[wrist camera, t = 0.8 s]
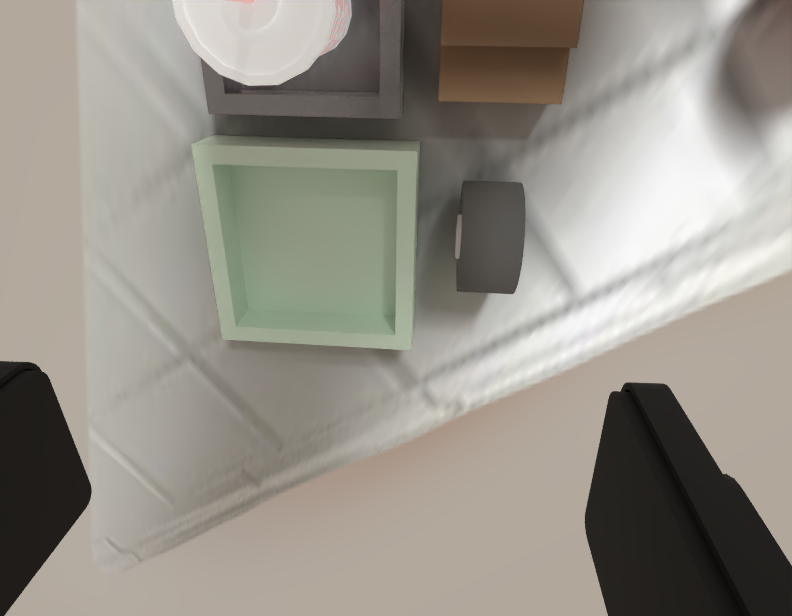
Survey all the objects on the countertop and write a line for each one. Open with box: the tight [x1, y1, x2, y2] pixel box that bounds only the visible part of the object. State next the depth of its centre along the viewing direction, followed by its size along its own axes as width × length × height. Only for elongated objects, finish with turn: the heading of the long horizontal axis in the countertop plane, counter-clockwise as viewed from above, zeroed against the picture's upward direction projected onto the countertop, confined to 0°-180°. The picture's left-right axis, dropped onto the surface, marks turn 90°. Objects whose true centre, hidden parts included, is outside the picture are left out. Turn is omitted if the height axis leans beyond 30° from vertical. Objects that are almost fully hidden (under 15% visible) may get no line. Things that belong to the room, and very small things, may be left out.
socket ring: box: [201, 0, 405, 119], centre depth 26 cm, size 10×10×2 cm
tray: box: [191, 135, 420, 350], centre depth 32 cm, size 12×12×3 cm
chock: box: [438, 0, 584, 104], centre depth 26 cm, size 5×6×4 cm
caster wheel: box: [455, 181, 525, 294], centre depth 29 cm, size 6×3×6 cm, turn 179°
